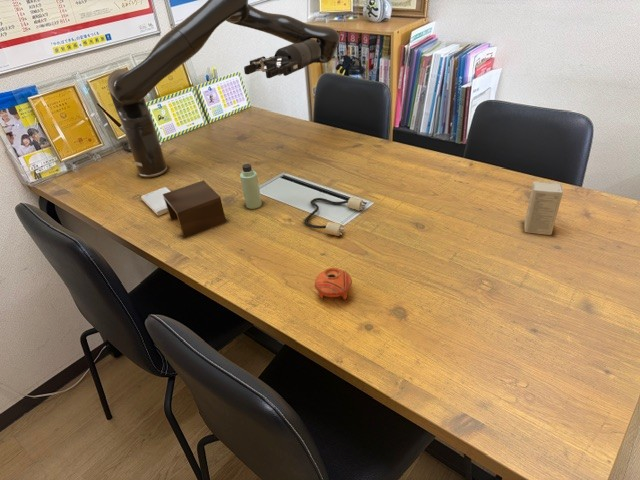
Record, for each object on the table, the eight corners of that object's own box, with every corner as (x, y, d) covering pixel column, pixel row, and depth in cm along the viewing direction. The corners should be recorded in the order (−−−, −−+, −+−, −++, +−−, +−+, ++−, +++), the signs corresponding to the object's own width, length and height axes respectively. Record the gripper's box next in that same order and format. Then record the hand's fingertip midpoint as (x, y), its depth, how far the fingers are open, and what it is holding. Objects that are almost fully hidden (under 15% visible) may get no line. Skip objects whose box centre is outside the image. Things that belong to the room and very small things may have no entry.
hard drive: (140, 196, 135) (156, 211, 127) (166, 186, 139) (182, 200, 131) (142, 200, 136) (158, 216, 128) (167, 190, 140) (184, 205, 132)
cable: (288, 227, 119) (286, 216, 117) (316, 198, 130) (315, 187, 128) (341, 240, 113) (340, 229, 110) (366, 208, 124) (366, 197, 122)
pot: (327, 312, 92) (320, 284, 89) (313, 296, 99) (307, 270, 96) (361, 298, 94) (355, 271, 92) (345, 284, 101) (340, 257, 98)
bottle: (243, 204, 130) (235, 165, 123) (257, 198, 132) (250, 160, 125) (250, 210, 127) (242, 171, 120) (264, 205, 129) (257, 166, 121)
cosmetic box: (550, 226, 111) (562, 183, 104) (551, 236, 108) (564, 192, 101) (523, 222, 113) (533, 180, 106) (523, 232, 110) (533, 189, 103)
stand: (170, 218, 127) (162, 194, 122) (209, 204, 132) (203, 180, 127) (184, 237, 118) (177, 212, 114) (226, 221, 123) (220, 196, 119)
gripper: (274, 42, 136) (235, 56, 127) (310, 47, 129) (272, 61, 119) (277, 68, 141) (240, 82, 131) (312, 73, 133) (276, 89, 123)
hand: (255, 72), depth 125 cm, fingers open, 8 cm apart
